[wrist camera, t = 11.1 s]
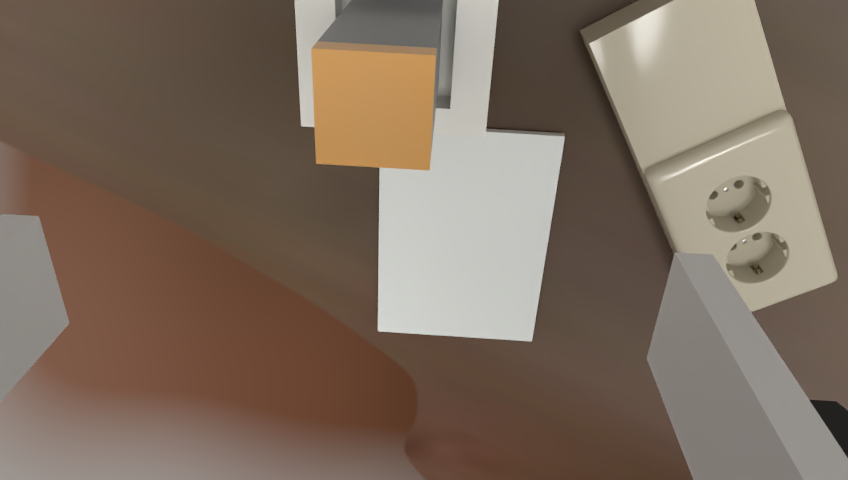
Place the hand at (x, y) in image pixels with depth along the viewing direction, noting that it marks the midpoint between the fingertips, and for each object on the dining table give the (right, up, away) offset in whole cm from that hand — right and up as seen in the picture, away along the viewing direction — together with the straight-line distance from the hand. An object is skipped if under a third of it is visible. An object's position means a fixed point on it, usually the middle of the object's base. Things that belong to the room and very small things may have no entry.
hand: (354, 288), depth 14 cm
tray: (+4, +1, +25) cm, 26 cm away
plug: (0, +11, +18) cm, 21 cm away
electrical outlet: (+17, +6, +22) cm, 29 cm away
